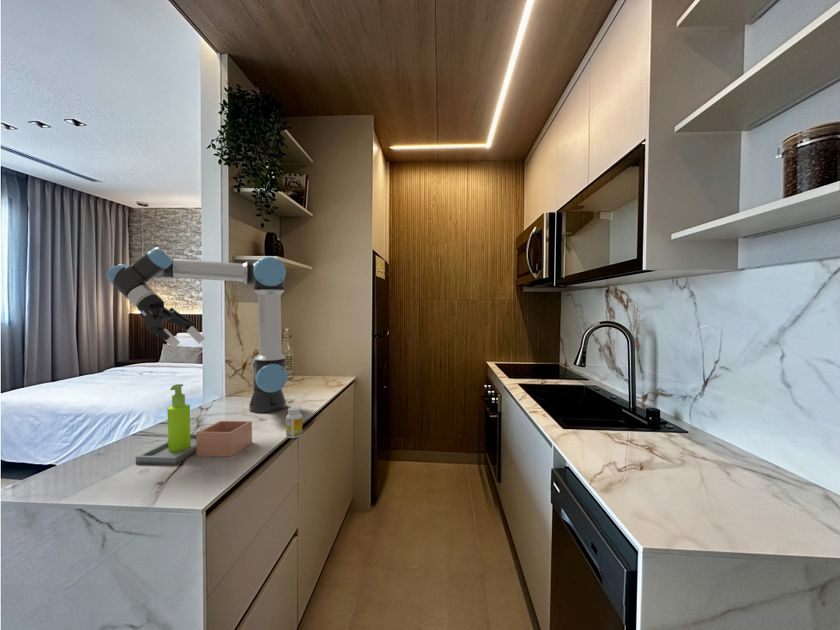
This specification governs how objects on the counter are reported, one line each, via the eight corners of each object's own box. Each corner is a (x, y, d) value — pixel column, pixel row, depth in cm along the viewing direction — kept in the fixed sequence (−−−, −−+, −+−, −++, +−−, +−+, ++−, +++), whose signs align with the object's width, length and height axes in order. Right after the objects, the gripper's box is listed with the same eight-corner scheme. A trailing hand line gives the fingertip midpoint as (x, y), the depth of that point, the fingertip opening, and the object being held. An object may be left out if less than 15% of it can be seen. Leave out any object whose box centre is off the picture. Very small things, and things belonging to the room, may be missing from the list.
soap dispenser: (164, 454, 115) (162, 387, 114) (172, 445, 121) (170, 383, 121) (186, 451, 116) (184, 386, 116) (193, 443, 123) (191, 382, 122)
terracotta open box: (220, 441, 128) (219, 420, 127) (252, 442, 127) (251, 421, 127) (196, 455, 116) (196, 432, 115) (231, 456, 115) (231, 433, 115)
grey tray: (183, 439, 130) (183, 433, 130) (217, 440, 129) (217, 434, 129) (135, 463, 110) (135, 456, 110) (175, 464, 109) (175, 457, 109)
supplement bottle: (284, 438, 130) (283, 410, 130) (288, 433, 135) (287, 406, 135) (300, 438, 130) (300, 410, 130) (303, 433, 136) (303, 406, 136)
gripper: (165, 308, 147) (204, 346, 147) (109, 309, 122) (156, 355, 122) (178, 294, 147) (217, 332, 146) (124, 292, 122) (171, 338, 121)
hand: (190, 343), depth 134 cm, fingers open, 13 cm apart
